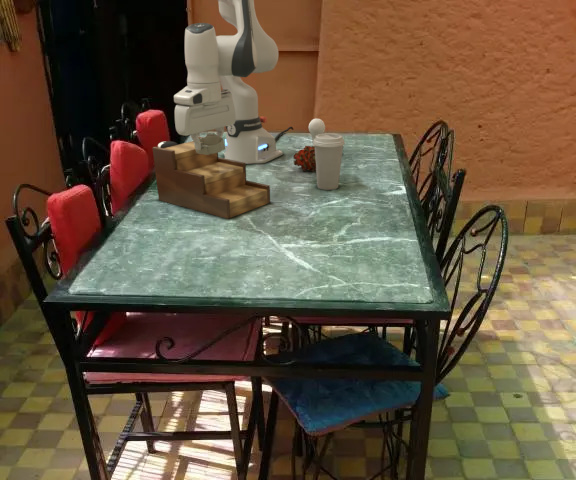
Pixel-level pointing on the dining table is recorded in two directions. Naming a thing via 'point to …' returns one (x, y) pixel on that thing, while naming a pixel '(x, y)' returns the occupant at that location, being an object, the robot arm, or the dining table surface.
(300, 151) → the dragon fruit
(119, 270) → the dining table surface
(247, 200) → the step shelf
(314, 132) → the lightbulb
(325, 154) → the coffee cup
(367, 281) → the dining table surface
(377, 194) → the dining table surface
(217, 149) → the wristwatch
